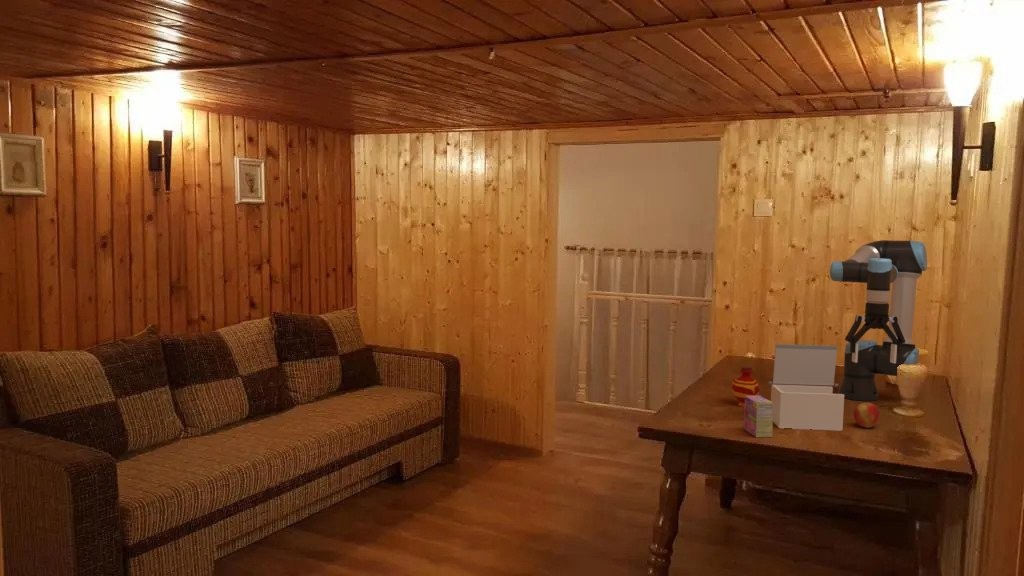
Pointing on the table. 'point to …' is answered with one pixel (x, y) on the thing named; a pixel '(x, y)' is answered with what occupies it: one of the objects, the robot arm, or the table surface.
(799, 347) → the box lid
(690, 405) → the table surface
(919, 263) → the robot arm
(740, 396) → the potion bottle
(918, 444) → the table surface
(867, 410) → the apple
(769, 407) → the box
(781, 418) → the white lidded container
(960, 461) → the table surface
